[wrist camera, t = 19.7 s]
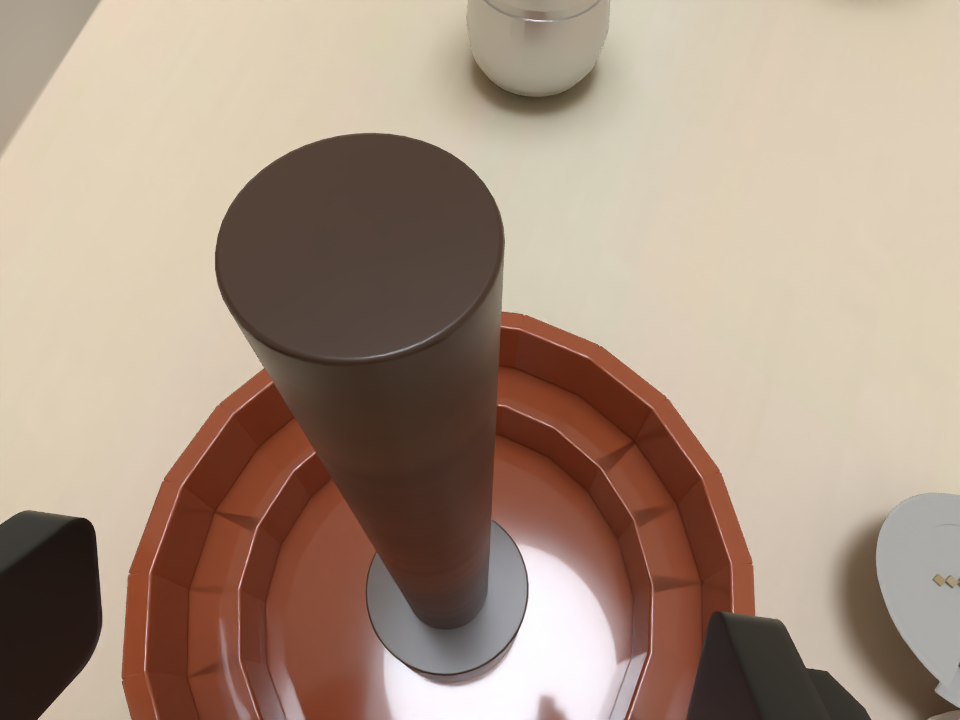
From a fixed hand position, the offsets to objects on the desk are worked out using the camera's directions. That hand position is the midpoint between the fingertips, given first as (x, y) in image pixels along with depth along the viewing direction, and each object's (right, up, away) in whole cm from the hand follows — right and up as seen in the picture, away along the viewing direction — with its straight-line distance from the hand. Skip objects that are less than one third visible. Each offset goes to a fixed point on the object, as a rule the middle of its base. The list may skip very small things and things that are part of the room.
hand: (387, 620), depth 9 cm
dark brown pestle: (0, -4, +12) cm, 13 cm away
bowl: (0, -4, +13) cm, 14 cm away
